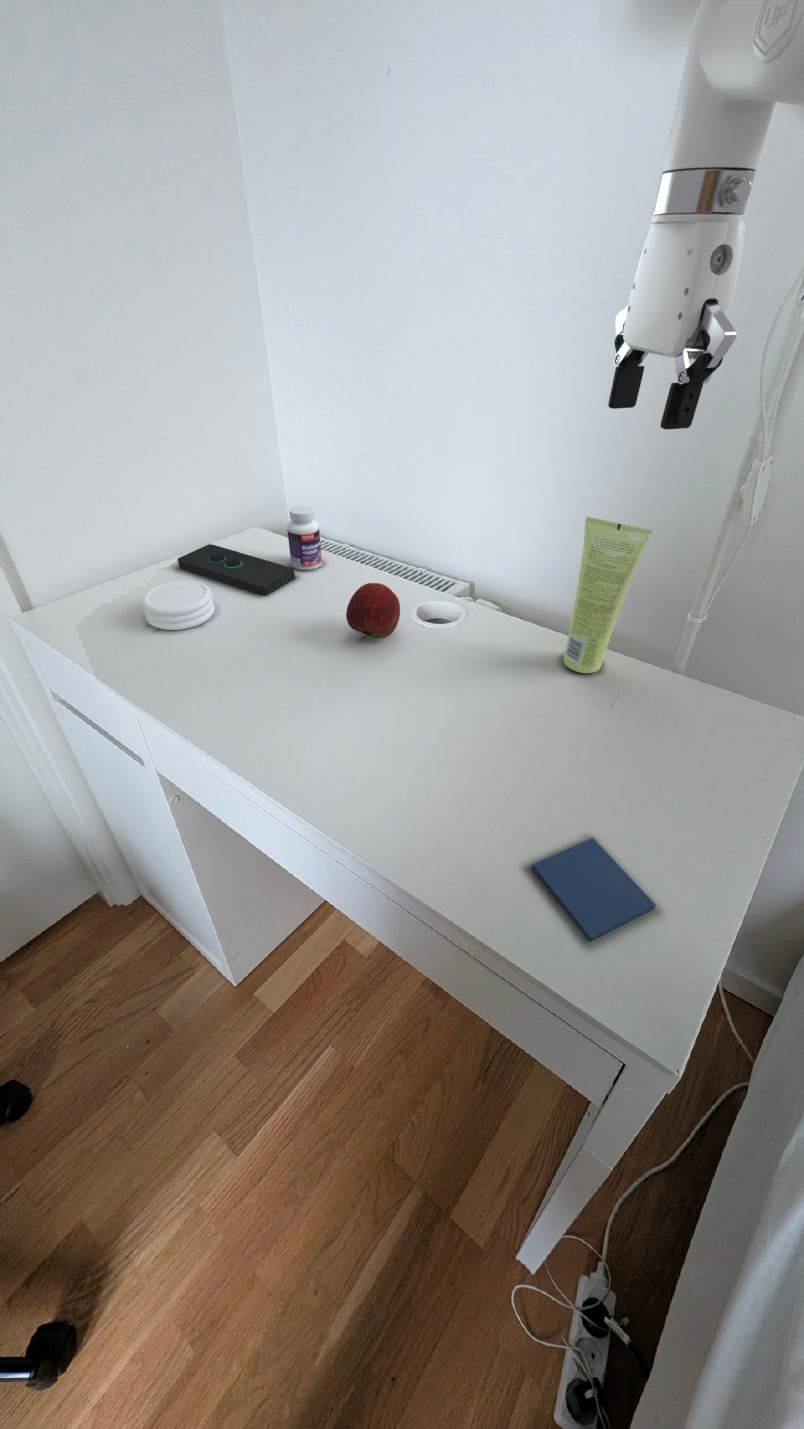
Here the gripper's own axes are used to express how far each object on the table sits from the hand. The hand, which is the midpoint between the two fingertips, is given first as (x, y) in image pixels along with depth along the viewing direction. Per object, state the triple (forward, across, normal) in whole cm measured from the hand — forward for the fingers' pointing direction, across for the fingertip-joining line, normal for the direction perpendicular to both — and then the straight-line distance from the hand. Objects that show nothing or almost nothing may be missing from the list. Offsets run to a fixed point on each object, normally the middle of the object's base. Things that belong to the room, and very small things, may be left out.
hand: (646, 417), depth 61 cm
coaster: (+30, +26, +54) cm, 67 cm away
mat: (+30, -34, +19) cm, 49 cm away
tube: (+30, -2, +2) cm, 30 cm away
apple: (+30, +12, +28) cm, 43 cm away
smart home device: (+30, +38, +46) cm, 67 cm away
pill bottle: (+30, +39, +34) cm, 59 cm away
